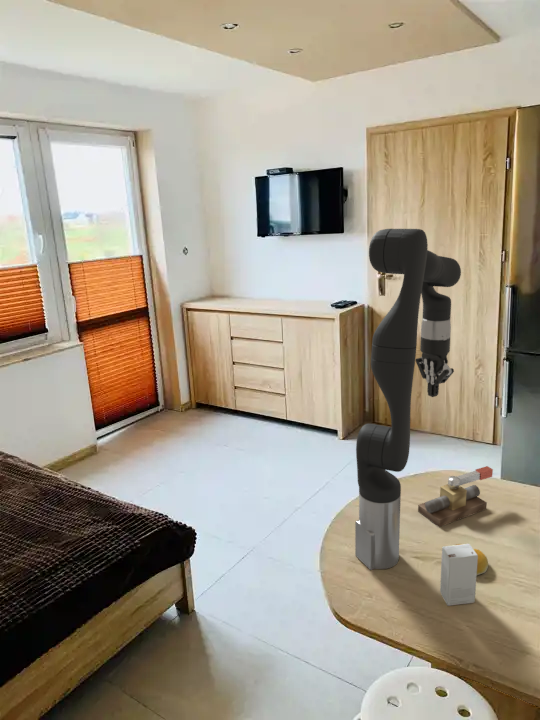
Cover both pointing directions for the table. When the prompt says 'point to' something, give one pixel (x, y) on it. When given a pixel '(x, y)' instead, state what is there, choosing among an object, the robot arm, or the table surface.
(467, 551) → the skincare box
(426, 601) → the table surface
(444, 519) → the valve board
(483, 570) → the bread roll
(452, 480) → the valve lever
